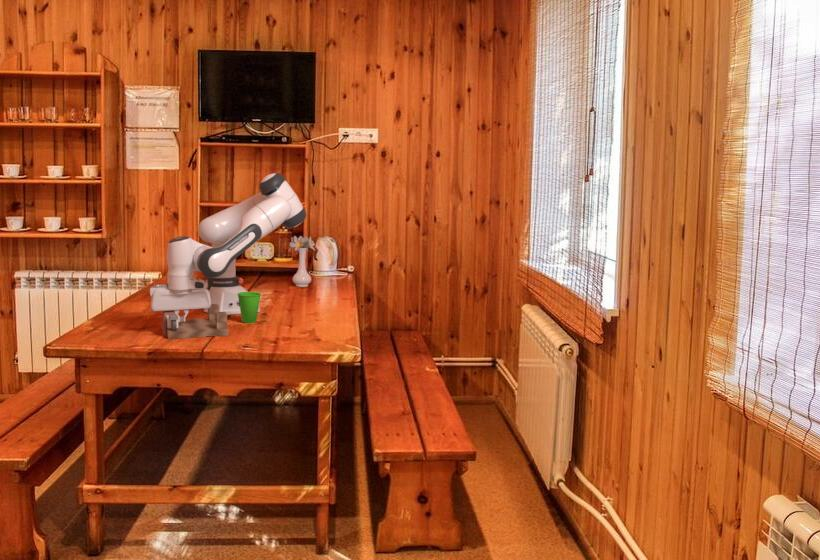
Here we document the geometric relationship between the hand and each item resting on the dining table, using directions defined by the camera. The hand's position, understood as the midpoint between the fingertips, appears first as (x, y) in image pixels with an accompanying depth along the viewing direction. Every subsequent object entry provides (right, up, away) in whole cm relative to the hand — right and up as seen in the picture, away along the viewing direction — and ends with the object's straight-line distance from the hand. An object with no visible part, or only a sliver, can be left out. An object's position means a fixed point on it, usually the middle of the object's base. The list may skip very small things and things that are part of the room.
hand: (181, 322), depth 280 cm
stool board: (+4, -4, +3) cm, 6 cm away
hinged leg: (-3, -1, -2) cm, 4 cm away
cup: (+19, -1, +23) cm, 30 cm away
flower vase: (+26, +12, +115) cm, 118 cm away
